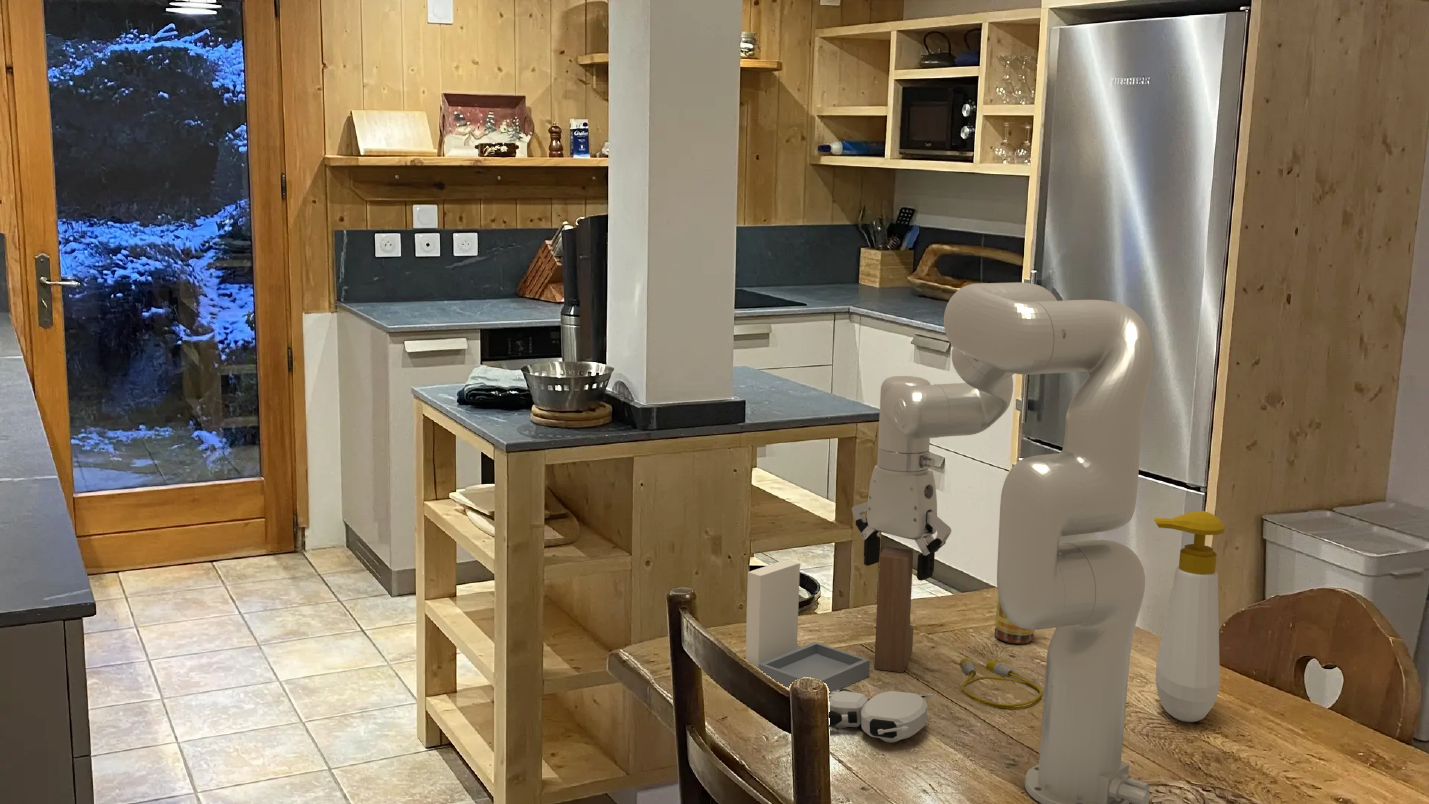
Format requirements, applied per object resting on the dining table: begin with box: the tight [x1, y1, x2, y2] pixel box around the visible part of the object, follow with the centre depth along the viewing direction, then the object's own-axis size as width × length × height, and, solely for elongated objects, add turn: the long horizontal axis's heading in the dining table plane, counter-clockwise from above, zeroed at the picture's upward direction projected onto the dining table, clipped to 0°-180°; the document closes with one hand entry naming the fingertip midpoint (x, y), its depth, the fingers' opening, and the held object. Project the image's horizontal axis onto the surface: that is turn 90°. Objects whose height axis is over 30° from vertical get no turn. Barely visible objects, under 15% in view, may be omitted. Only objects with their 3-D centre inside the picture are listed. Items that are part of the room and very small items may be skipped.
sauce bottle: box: [994, 596, 1035, 645], centre depth 213 cm, size 6×6×20 cm
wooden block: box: [873, 546, 914, 673], centre depth 203 cm, size 9×4×18 cm, turn 163°
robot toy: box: [828, 688, 934, 744], centre depth 180 cm, size 12×4×15 cm
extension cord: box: [959, 657, 1043, 710], centre depth 195 cm, size 12×16×2 cm
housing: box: [745, 559, 871, 694], centre depth 198 cm, size 16×13×15 cm
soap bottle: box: [1153, 510, 1226, 723], centre depth 185 cm, size 13×10×29 cm
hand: (897, 570), depth 202 cm, fingers open, 9 cm apart
